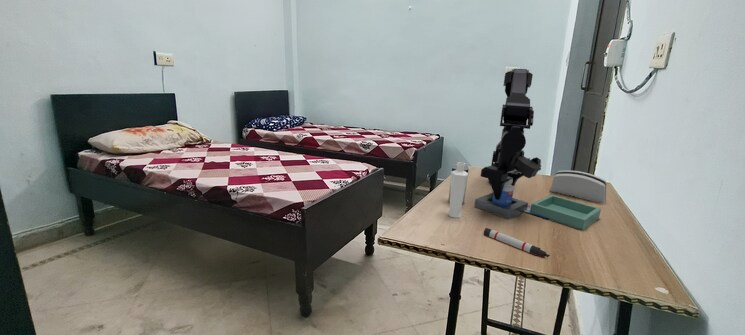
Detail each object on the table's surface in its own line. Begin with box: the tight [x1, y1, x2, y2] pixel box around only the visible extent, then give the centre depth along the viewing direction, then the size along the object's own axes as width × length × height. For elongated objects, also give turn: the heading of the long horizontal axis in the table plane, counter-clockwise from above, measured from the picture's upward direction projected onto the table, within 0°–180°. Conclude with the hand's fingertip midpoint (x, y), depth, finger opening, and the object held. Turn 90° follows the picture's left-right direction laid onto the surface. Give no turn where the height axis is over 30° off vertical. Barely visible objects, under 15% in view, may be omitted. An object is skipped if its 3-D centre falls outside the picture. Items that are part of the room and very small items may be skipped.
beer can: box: [448, 162, 469, 204], centre depth 105 cm, size 5×5×12 cm
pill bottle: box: [492, 177, 515, 207], centre depth 102 cm, size 6×5×10 cm
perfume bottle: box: [447, 161, 469, 219], centre depth 94 cm, size 5×4×15 cm
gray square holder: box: [474, 192, 529, 220], centre depth 103 cm, size 11×11×2 cm
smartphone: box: [522, 204, 550, 221], centre depth 104 cm, size 8×1×15 cm
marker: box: [483, 227, 551, 258], centre depth 80 cm, size 15×2×2 cm, turn 44°
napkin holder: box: [549, 170, 607, 204], centre depth 118 cm, size 17×5×10 cm, turn 52°
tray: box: [530, 194, 602, 231], centre depth 100 cm, size 14×14×3 cm
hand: (502, 197), depth 102 cm, fingers closed on pill bottle, 5 cm apart
